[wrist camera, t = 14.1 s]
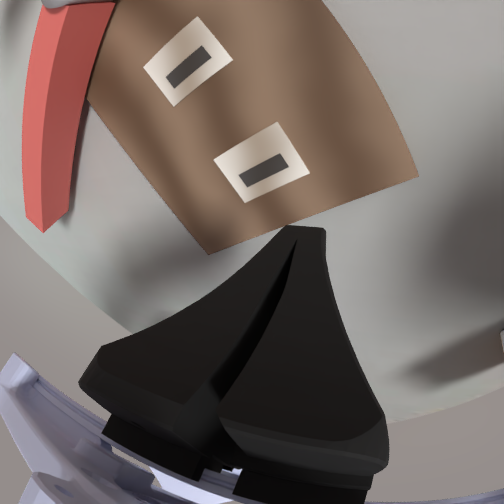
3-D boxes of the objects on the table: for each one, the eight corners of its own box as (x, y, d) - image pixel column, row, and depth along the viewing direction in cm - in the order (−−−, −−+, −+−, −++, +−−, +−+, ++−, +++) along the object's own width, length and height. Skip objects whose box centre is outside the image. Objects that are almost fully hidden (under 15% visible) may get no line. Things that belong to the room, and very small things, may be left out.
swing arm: (49, 194, 26) (21, 218, 23) (104, -45, 9) (53, -46, 6) (70, 212, 26) (41, 237, 23) (139, -39, 9) (85, -44, 6)
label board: (213, 247, 25) (207, 256, 24) (60, 47, 16) (50, 49, 15) (416, 169, 15) (419, 177, 14) (203, -107, 6) (194, -112, 5)
